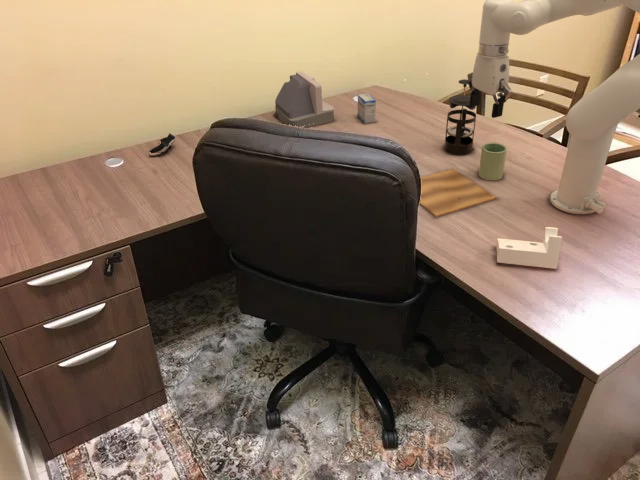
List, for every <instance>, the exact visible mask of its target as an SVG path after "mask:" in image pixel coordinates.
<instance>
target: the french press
mask: <svg viewBox="0 0 640 480" xmlns="http://www.w3.org/2000/svg"><path fill="white" fill-rule="evenodd" d="M468 82H469V81H468V78H466V79H464V78H463V79H460V80H458V84H461V85H462V87H463V93H462V94H458V95H453V96H450V97H449V98H448V102H449V108H450V109H452V110H451V111H448V112H447V115H446V116H447V117H446V126H445V127H446V128H445V139H444V145H443V150H444V152H446V153H448V154H450V155H454V156H465V155H469V154H471V153H472V152H473V150H474V147H473V145H474V138H475V137H474V136H475V129H476V120H477V114H476V112H474V111H473V110H475V109H476V108H477V106H474V107H470V106H469V104H470V95H468V94H467V95H466V88H467V85H468ZM456 107H461V108H460V109H454V108H456ZM464 107H465V108H464ZM458 114H459V119H457V118H454V117H451V116H452V115H458ZM467 115H469V116H472V118H469V119H467ZM449 122H450V123H453V124H456V125H454V126H450V127H448V126H449ZM472 123H473V129H472V128H471V127H469V126H466V125H469V124H472ZM471 136H472V137H471Z"/></svg>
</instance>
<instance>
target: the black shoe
mask: <svg viewBox="0 0 640 480" xmlns="http://www.w3.org/2000/svg"><path fill="white" fill-rule="evenodd" d="M176 139H177V137H176V136H175V135H173V134H172V133H169V132H168V135H167V136H166V137H163V138H161V139H159V141H161V144H160V143H159V145H157V146H155V147H152V148H151V149H150V150H149V151H148V153H149V152H151V153H161V152H163V153H161V154H166V153H168V150H170V149H171V148H172V145H173V144H174V143H175V142H176ZM170 145H171V146H170ZM169 146H170V147H169ZM159 155H160V154H156V155H149V156H150V157H156V156H159Z"/></svg>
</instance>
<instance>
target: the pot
mask: <svg viewBox="0 0 640 480" xmlns="http://www.w3.org/2000/svg"><path fill="white" fill-rule="evenodd" d="M507 152H508V147H507V146H506V145H504V144H503V143H499V142H487V143H484V144H483V145H482V146H481V153H480V160H479V166H478V167H479V168H478V176H479V177H480V178H481V179H483V180H486V181H499V180H501V179H502V178H503V175H504V169H505V164H506V157H507Z"/></svg>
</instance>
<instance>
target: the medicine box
mask: <svg viewBox="0 0 640 480" xmlns="http://www.w3.org/2000/svg"><path fill="white" fill-rule="evenodd" d="M376 117H377V100H376V99H375V98H374V97H373V96H371V94H369V93H361V94H358V95H357V118H359V119H360V121H362V122H363V123H364V124H373V123H376V121H377V120H376V119H377V118H376Z"/></svg>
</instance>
